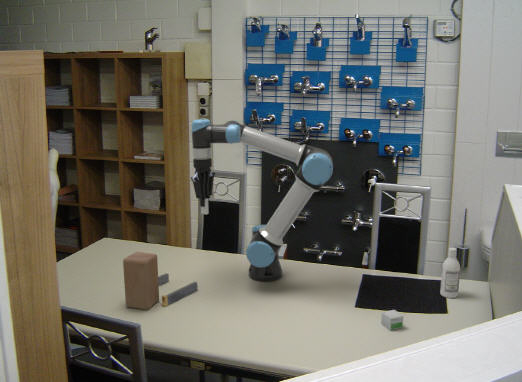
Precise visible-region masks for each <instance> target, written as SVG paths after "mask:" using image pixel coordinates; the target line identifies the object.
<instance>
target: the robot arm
mask: <svg viewBox="0 0 522 382" xmlns="http://www.w3.org/2000/svg"><path fill="white" fill-rule="evenodd" d="M190 131H191V141H192V142H191V143H192V156H193V159H192V162H193V168H194V169H195V170H194V171H195V172H194V176H191V178H190V180H191V182H192V184H193V189H194V193H195V199H199V205H200V210H201V211H200V213H201V215H208V214H210V213H209V212H210V211H209V199H211V196H212V195H213V187H214V178H215V175H216V173H215V172H214V171H212V169H211V168H212V166H213V162H212V161H213V159H212V158H211V157H212V156H213V155H212V144H230V145H232V144H239V143H240V144H242V145H245V146H248V147H252V148H253V149H254V148H255V149H256V150H259V151H261V152H265V153H268V154H271V155H273V156H276V157H278V158H282V159H284V160H288V161H290V162H293V163H295V164H296V166H297V167H299V169H298V170H297V171H296V173H295V175H294V176H295V181H294V183H293V184H292V186H291V187H290V189H289V190H288V192H287V194H286V195H285V196H284V198H283V199H282V201H281V202H280V204H279V205H278V207H277V208H276V209H275V211H274V213H273V215H271V217H270V219H269V220H268V222H267V224H257V225H254V226H252V229H251V233H252V236H251V240H250V242H249V244H248V245H247V247H246V258H247V260H248V262H249V263H250V265H249V269H248V277H249V278H250V279H252V280H254V281H257V282H273V281H276V280H277V281H278V280H279V279H281V278H282V277H283V268H282V265H281V263H280V259H279V257H280V256H279V251H280V249H281V248H282V246H283V245H284V241H283V238H284V237H285V235H286V234H287V233H288V231H289V230H290V228H291V226H292V225H293V224H294V222H295V221H296V219H297V217H298V216H299V215H300V213H301V212H302V210H303V209H304V207H305V205H307V203H308V202H309V200H310V199H311V197H312V195H313V194H314V193H317V192H320V190H321V189H322V188H323V186H324V184H325V183H326V182H328V181H329V180H330V179H331V177H332V175H333V171H334V164H333V163H334V162H333V158H332V156H331V155H330V153H329V152H328V151H326V150H324V149H322V148H318V147H314V146H312V145H308V144H306V143H305V144H301V145H300V144H298V143H296V142H293V141H290V140H286V139H284V138H282V137H278V136H276V135H273V134H270V133H267V132H264V131H261V130H258V129H255V128H252V127H250V126H247V125H245V124H241V123H240V122H238V121H237V120H228V121H226V122H225V123H223V124H212V123H211V121H210V120H209V119H206V118H204V119H202V118H201V119H194V120H192V122H191V130H190Z"/></svg>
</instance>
